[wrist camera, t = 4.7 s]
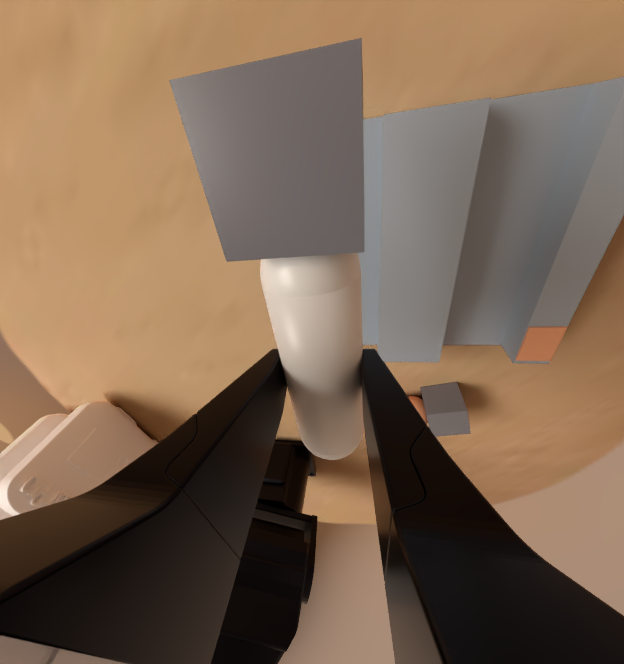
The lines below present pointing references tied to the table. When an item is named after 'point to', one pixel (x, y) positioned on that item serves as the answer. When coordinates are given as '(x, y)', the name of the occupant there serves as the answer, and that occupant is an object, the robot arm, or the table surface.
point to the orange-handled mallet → (443, 409)
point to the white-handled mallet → (294, 215)
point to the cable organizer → (67, 456)
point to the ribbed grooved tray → (488, 220)
